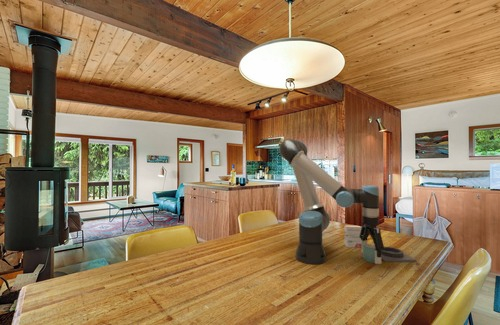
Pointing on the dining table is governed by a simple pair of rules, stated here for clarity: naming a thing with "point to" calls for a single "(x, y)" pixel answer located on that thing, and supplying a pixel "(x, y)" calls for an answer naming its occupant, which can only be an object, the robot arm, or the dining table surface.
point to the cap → (369, 253)
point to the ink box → (353, 236)
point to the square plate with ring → (395, 255)
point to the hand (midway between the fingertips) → (370, 258)
